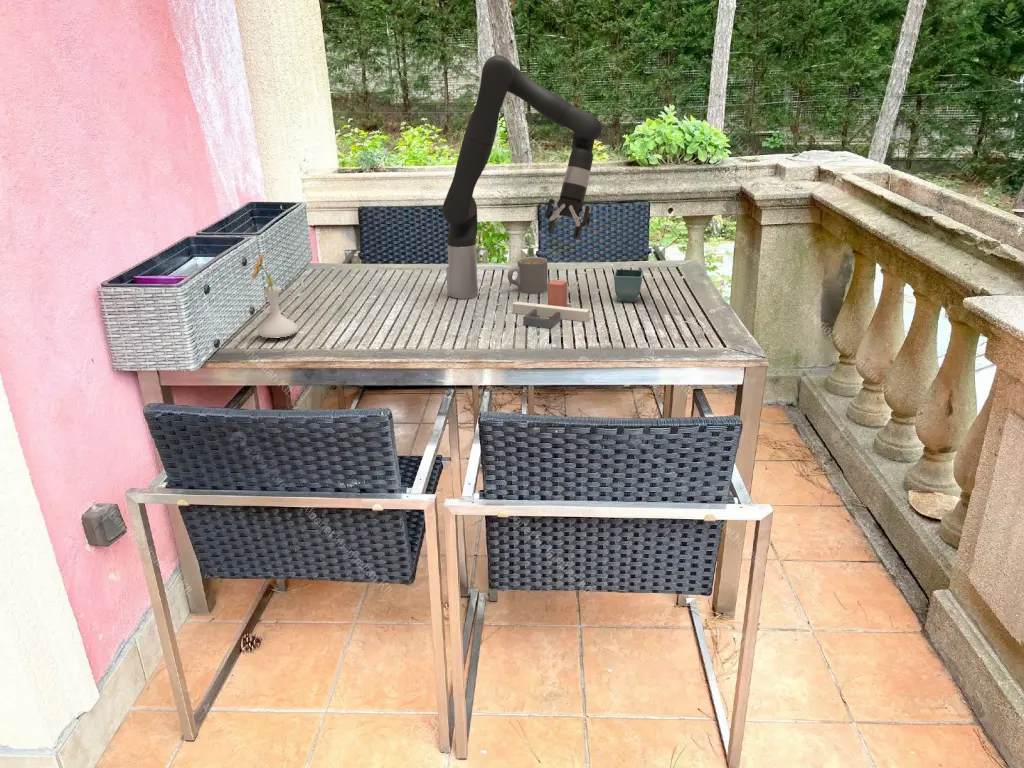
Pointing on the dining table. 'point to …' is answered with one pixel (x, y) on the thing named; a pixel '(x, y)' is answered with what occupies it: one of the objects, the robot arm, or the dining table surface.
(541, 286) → the coffee mug
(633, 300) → the flower pot
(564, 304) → the block
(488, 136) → the robot arm
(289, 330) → the flower in vase
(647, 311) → the dining table surface
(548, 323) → the keeper bracket
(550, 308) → the strip
